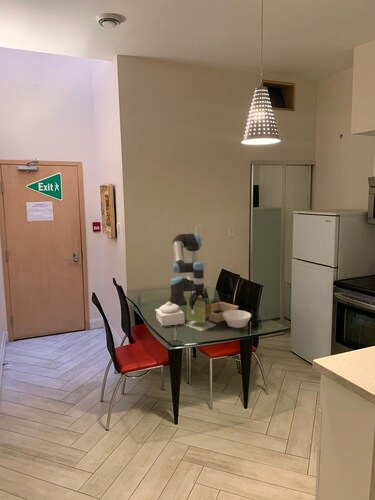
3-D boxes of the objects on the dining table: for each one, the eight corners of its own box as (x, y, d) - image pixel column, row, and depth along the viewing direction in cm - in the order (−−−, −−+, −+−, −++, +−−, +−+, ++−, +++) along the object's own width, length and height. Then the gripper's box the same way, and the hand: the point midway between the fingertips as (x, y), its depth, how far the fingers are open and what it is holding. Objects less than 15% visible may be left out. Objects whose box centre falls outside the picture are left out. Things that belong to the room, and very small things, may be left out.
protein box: (205, 323, 270) (205, 302, 268) (186, 319, 278) (186, 299, 275) (211, 318, 279) (211, 298, 277) (193, 315, 287) (193, 296, 284)
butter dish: (184, 323, 281) (183, 303, 279) (161, 327, 276) (160, 307, 273) (177, 316, 298) (176, 297, 295) (155, 320, 292) (154, 300, 290)
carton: (196, 317, 297) (196, 309, 296) (220, 308, 316) (220, 301, 315) (215, 323, 282) (215, 315, 281) (239, 314, 301) (239, 306, 300)
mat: (183, 324, 281) (183, 324, 281) (198, 319, 291) (198, 318, 291) (200, 331, 267) (200, 330, 267) (216, 325, 278) (216, 324, 278)
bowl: (231, 318, 292) (231, 308, 291) (256, 323, 280) (256, 313, 279) (217, 326, 275) (217, 316, 274) (243, 332, 263) (243, 321, 262)
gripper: (190, 287, 263) (191, 316, 267) (213, 281, 279) (214, 308, 283) (183, 285, 269) (183, 314, 272) (206, 279, 285) (207, 306, 288)
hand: (199, 311), depth 277 cm, fingers closed on protein box, 12 cm apart
